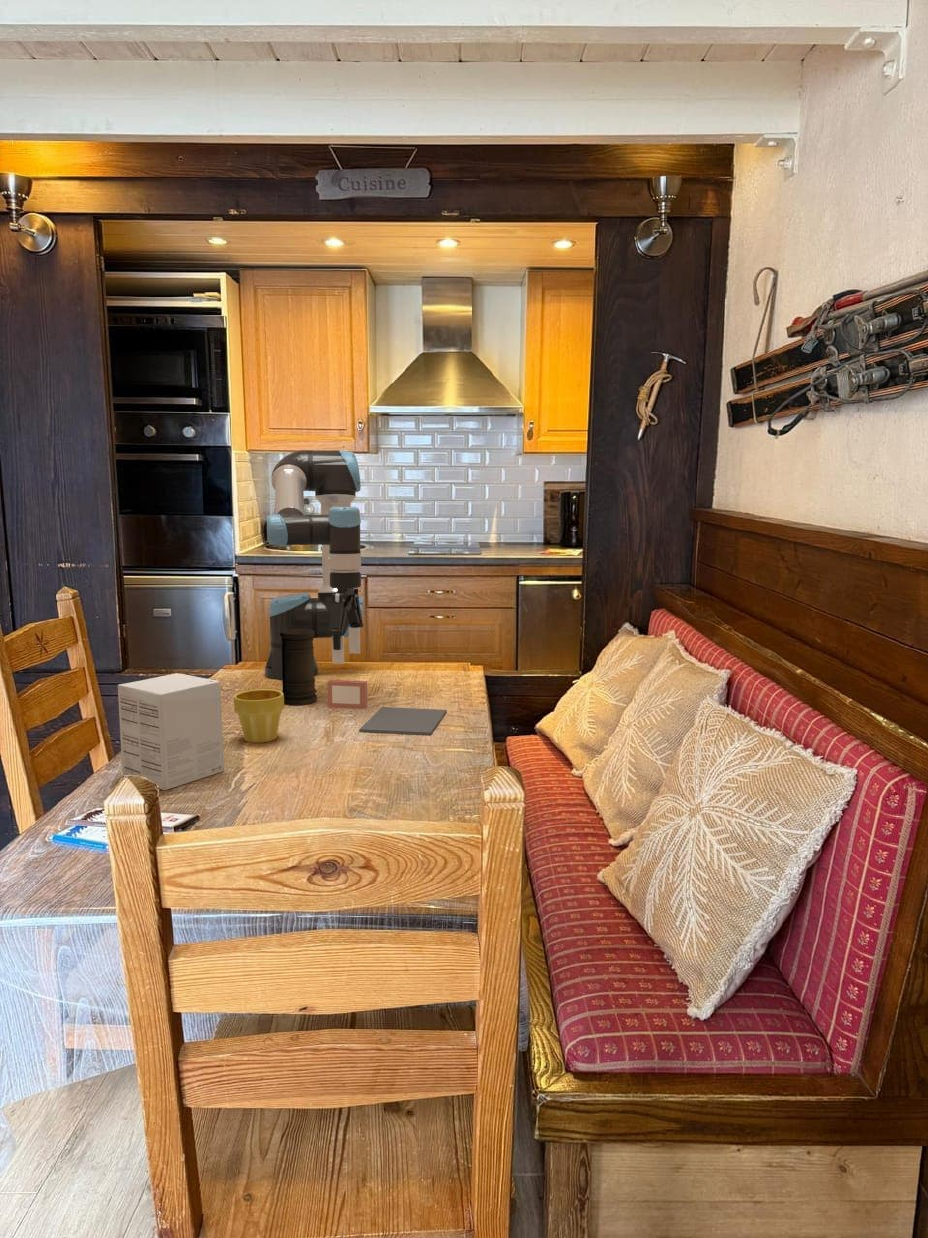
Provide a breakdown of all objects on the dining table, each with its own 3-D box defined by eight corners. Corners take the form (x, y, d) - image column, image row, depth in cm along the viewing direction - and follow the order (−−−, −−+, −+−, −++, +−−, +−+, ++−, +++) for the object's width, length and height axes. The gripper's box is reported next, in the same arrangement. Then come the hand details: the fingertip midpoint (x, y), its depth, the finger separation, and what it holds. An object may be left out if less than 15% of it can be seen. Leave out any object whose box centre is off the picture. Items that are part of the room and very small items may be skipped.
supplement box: (181, 759, 165) (177, 672, 162) (225, 771, 157) (222, 680, 155) (120, 777, 154) (115, 684, 151) (164, 791, 146) (159, 694, 144)
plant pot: (229, 745, 173) (227, 699, 172) (242, 732, 184) (241, 688, 182) (278, 746, 173) (277, 700, 172) (289, 732, 184) (288, 688, 182)
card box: (330, 705, 208) (329, 679, 207) (367, 707, 206) (367, 681, 205) (327, 707, 206) (327, 681, 205) (364, 709, 204) (364, 683, 203)
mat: (381, 709, 204) (381, 707, 203) (446, 712, 201) (446, 709, 201) (359, 731, 184) (359, 729, 184) (430, 735, 182) (430, 732, 181)
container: (321, 697, 215) (319, 628, 213) (311, 706, 206) (309, 634, 204) (287, 696, 216) (285, 628, 214) (276, 705, 207) (274, 633, 205)
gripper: (345, 567, 214) (346, 649, 217) (313, 574, 189) (315, 667, 192) (373, 567, 213) (374, 650, 215) (345, 575, 188) (346, 668, 191)
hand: (346, 658), depth 204 cm, fingers open, 13 cm apart
